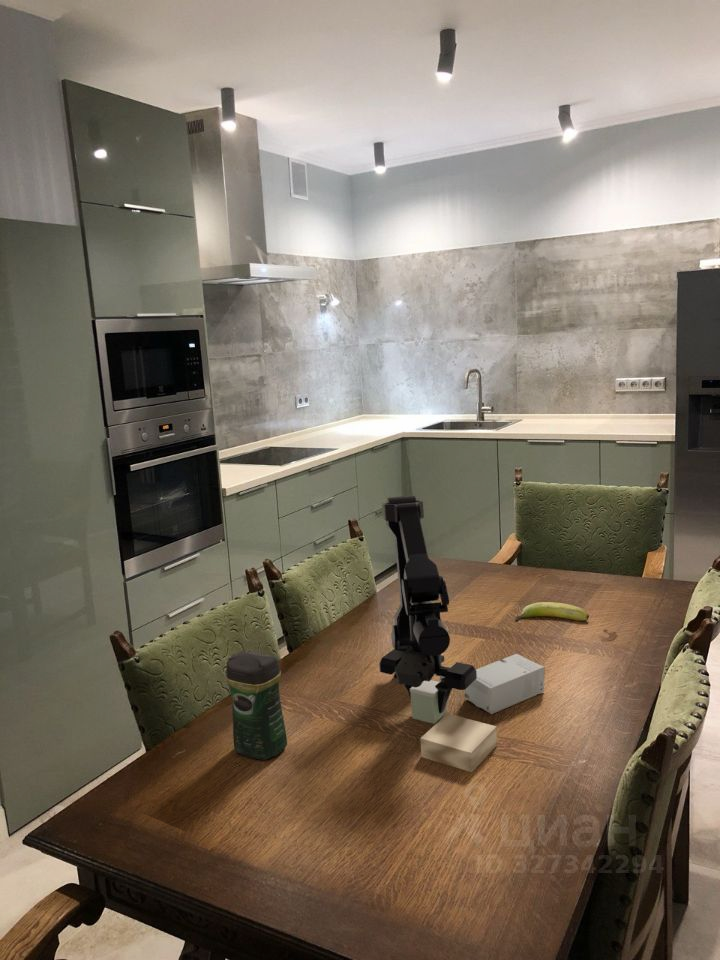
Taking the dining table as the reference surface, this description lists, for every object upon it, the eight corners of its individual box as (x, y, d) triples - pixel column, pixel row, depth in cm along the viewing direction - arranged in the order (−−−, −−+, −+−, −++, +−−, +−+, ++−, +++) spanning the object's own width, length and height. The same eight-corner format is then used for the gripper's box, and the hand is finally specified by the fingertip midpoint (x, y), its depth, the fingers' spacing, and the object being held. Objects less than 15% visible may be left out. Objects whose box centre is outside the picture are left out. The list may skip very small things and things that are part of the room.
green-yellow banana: (627, 606, 203) (627, 593, 202) (619, 648, 179) (619, 632, 178) (495, 596, 217) (495, 583, 216) (470, 634, 192) (470, 619, 191)
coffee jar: (294, 744, 145) (286, 651, 142) (268, 765, 139) (259, 668, 135) (253, 733, 150) (245, 643, 147) (227, 753, 144) (217, 659, 140)
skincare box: (545, 666, 157) (491, 687, 149) (545, 693, 159) (491, 716, 151) (515, 652, 164) (462, 672, 156) (515, 678, 166) (462, 699, 157)
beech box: (421, 758, 138) (420, 738, 137) (448, 733, 146) (447, 713, 145) (471, 774, 132) (471, 752, 132) (497, 746, 140) (496, 726, 140)
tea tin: (411, 718, 152) (409, 689, 151) (424, 706, 156) (422, 678, 155) (434, 724, 149) (433, 694, 148) (447, 712, 153) (445, 683, 152)
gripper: (361, 641, 148) (366, 717, 151) (449, 659, 138) (453, 739, 141) (391, 621, 157) (396, 693, 160) (476, 636, 147) (479, 712, 150)
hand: (429, 709), depth 152 cm, fingers open, 5 cm apart
